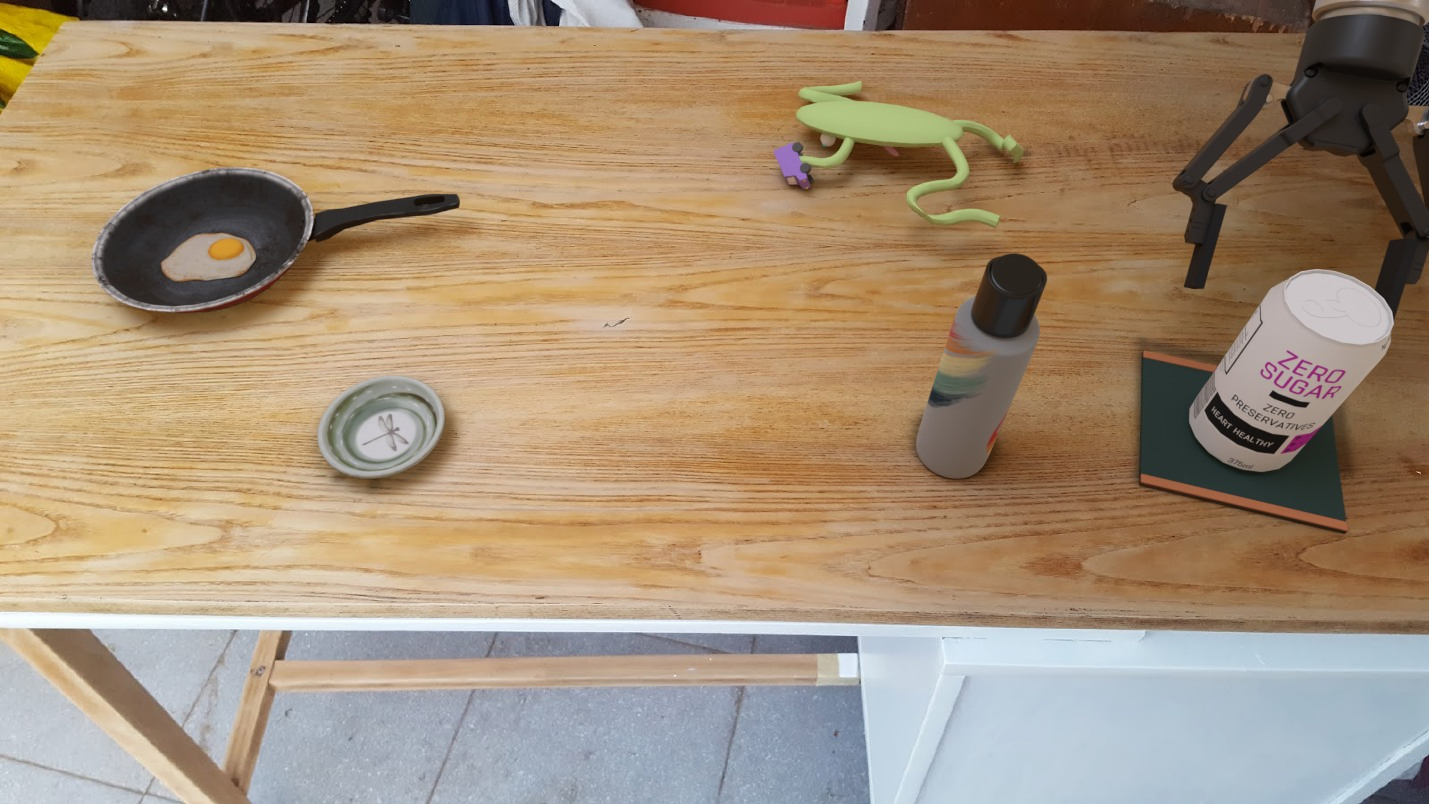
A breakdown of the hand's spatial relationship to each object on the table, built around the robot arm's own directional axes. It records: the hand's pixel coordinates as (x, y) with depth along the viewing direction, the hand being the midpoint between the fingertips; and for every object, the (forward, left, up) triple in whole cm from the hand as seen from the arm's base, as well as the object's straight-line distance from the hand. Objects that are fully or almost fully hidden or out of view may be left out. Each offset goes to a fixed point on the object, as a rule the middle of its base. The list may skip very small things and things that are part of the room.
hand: (1284, 306), depth 74 cm
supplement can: (0, +7, -8) cm, 11 cm away
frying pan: (+84, +10, -9) cm, 85 cm away
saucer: (+65, +27, -9) cm, 71 cm away
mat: (0, +7, -8) cm, 11 cm away
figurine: (+32, -18, -9) cm, 38 cm away
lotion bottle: (+22, +15, -9) cm, 28 cm away
